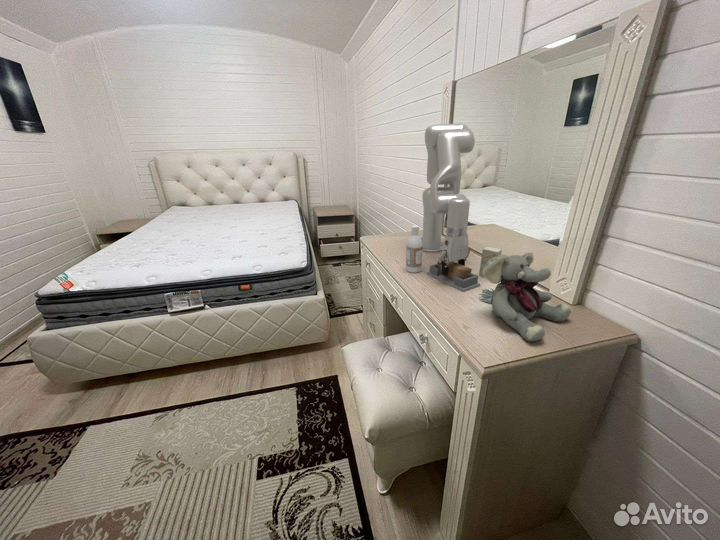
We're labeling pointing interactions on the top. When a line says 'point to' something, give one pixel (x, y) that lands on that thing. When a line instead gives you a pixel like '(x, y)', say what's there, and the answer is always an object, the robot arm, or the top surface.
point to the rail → (455, 280)
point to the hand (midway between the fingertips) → (452, 272)
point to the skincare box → (488, 257)
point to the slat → (455, 271)
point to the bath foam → (414, 251)
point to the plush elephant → (520, 294)
